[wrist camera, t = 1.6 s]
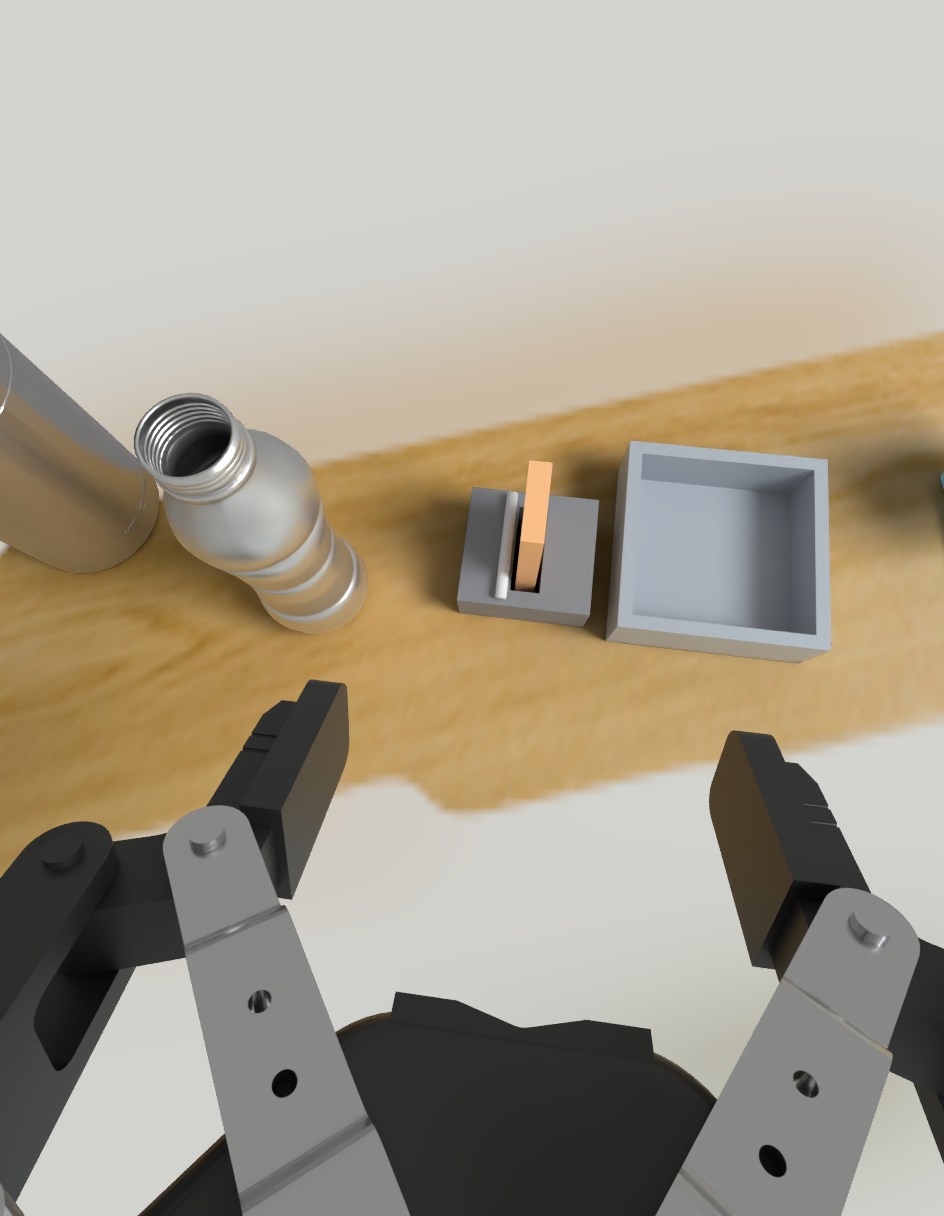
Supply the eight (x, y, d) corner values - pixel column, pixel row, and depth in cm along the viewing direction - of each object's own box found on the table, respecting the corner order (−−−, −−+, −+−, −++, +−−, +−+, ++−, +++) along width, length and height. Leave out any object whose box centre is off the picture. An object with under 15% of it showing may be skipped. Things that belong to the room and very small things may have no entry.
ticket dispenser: (459, 612, 42) (456, 597, 38) (473, 506, 44) (472, 482, 40) (583, 627, 41) (591, 612, 38) (591, 519, 43) (601, 495, 40)
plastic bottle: (276, 549, 43) (102, 360, 24) (377, 546, 43) (283, 355, 24) (270, 642, 42) (76, 521, 22) (374, 640, 41) (270, 517, 22)
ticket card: (514, 596, 42) (520, 541, 32) (521, 532, 43) (529, 460, 33) (532, 598, 42) (544, 543, 32) (539, 534, 43) (552, 462, 33)
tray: (605, 641, 41) (617, 626, 37) (618, 470, 44) (630, 440, 40) (798, 663, 40) (831, 650, 36) (797, 488, 43) (827, 459, 39)
